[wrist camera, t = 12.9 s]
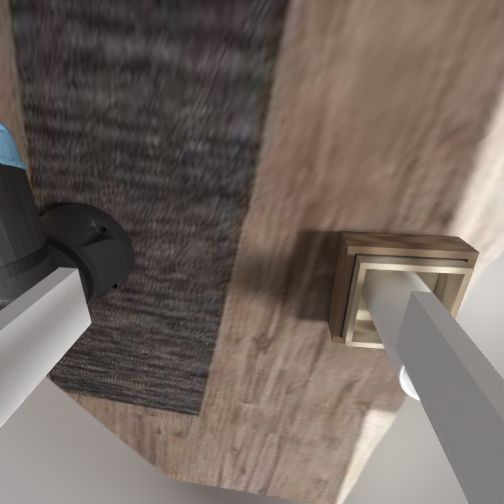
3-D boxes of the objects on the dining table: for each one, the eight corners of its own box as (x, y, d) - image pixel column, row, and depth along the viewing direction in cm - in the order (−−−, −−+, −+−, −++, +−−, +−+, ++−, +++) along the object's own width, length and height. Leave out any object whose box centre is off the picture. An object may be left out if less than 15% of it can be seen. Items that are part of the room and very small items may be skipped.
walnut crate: (327, 321, 51) (332, 342, 46) (341, 231, 44) (348, 245, 39) (428, 328, 49) (442, 350, 45) (458, 236, 43) (479, 252, 38)
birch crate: (337, 319, 49) (344, 345, 44) (351, 243, 43) (360, 262, 38) (424, 325, 48) (442, 352, 43) (449, 248, 42) (474, 268, 37)
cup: (375, 319, 48) (416, 412, 33) (352, 280, 45) (385, 362, 31) (429, 297, 45) (498, 387, 31) (407, 254, 42) (472, 331, 28)
